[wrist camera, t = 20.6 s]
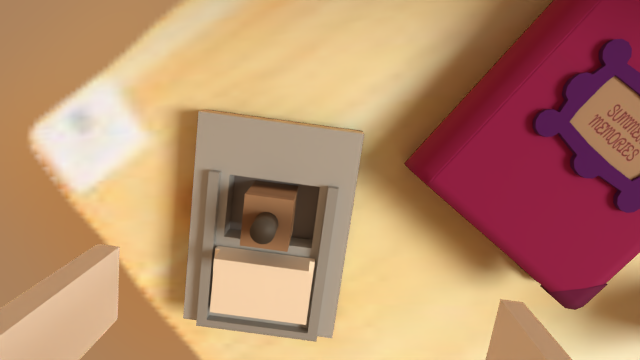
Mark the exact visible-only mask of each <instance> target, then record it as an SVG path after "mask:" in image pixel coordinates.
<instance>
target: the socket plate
mask: <svg viewBox="0 0 640 360" xmlns="http://www.w3.org/2000/svg"><path fill="white" fill-rule="evenodd" d="M363 139H364V133H363V132H362V131H358V130H351V129H344V128H336V127H329V126H322V125H315V124H307V123H300V122H293V121H286V120H278V119H271V118H264V117H256V116H249V115H242V114H235V113H227V112H220V111H213V110H203V111H199V112H198V125H197V139H196V153H195V166H194V180H193V193H192V207H191V221H190V234H189V248H188V261H187V275H186V288H185V302H184V316H183V318H184V319H192V320H197V323H196V326H203V327H211V328H218V329H226V330H233V331H241V332H248V333H256V334H263V335H271V336H278V337H286V338H293V339H301V340H308V341H316V339H317V336H319V337H327V338H332V336H333V330H334V323H335V317H336V310H337V304H338V298H339V291H340V285H341V279H342V272H343V266H344V260H345V253H346V247H347V240H348V234H349V228H350V221H351V215H352V209H353V202H354V196H355V190H356V183H357V177H358V170H359V164H360V158H361V151H362V145H363ZM256 180H258V181H266V182H273V183H280V184H288V185H295V186H298V194H297V202H296V210H295V218H294V225H293V232H292V236H291V240H290V244H289V248H288V252H284V251H277V250H269V249H262V248H255V247H247V246H240V237H241V227H242V217H243V208H244V198H245V193H246V192H247V191H248V189H249V188H250V187H251V186H252V184H253V183H254V182H255V181H256ZM217 246H223V247H230V248H238V249H245V250H253V251H260V252H267V253H275V254H282V255H290V256H297V257H305V258H312V259H315V264H314V271H313V278H312V285H311V292H310V300H309V307H308V314H307V321H306V325H303V324H295V323H288V322H280V321H273V320H265V319H258V318H250V317H243V316H235V315H228V314H220V313H213V312H210V304H211V293H212V281H213V264H214V258H215V248H216V247H217Z"/></svg>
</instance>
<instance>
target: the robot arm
mask: <svg viewBox="0 0 640 360" xmlns="http://www.w3.org/2000/svg"><path fill="white" fill-rule="evenodd" d="M118 282H119V247H116V246H109V245H101V244H96V245H95V246H94V247H92V248H90V249H89V250H87V251H86V252H84V253H83V254H81V255H80V256H79V257H77V258H75V259H74V260H72V261H71V262H69V263H68V264H66V265H65V266H63V267H62V268H60V269H59V270H57V271H56V272H54V273H53V274H51V275H50V276H48V277H47V278H45V279H44V280H42V281H41V282H39V283H38V284H36V285H35V286H33V287H32V288H30V289H28V290H27V291H25V292H24V293H22V294H21V295H19V296H18V297H16V298H15V299H13V300H12V301H10V302H9V303H7V304H6V305H4V306H3V307H1V308H0V360H79V359H80V358H81V357H82V356H83V355H84V354H85V353H86V352H87V351H88V350H89V349H90V348H91V347H92V346H93V345H94V343H95V342H96V341H97V340H98V339H99V338H100V337H101V336H102V335H103V334H104V333H105V332H106V331H107V330H108V328H109V327H110V326H111V325H112V324H113V323H114V322H115V321H116V320H117V317H118ZM486 360H572V359H571V358H570V357H569V355H568V354H567V353H566V352H565V351H564V350H563V348H562V347H561V346H560V345H559V344H558V343H557V341H556V340H555V339H554V338H553V337H552V336H551V334H550V333H549V332H548V331H547V330H546V329H545V327H544V326H543V325H542V324H541V323H540V322H539V320H538V319H537V318H536V317H535V316H534V315H533V313H532V312H531V311H530V310H529V309H528V308H527V306H526V305H525V304H524V303H523V302H517V301H509V300H502V299H501V300H500V304H499V308H498V312H497V316H496V320H495V324H494V328H493V332H492V336H491V340H490V344H489V348H488V353H487V357H486Z"/></svg>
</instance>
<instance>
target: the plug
mask: <svg viewBox="0 0 640 360" xmlns="http://www.w3.org/2000/svg"><path fill="white" fill-rule="evenodd" d="M297 194H298V186H295V185H288V184H280V183H273V182H266V181H258V180H256V181H255V182H254V183H253V184H252V186H251V187H250V188H249V189H248V191H247V192H246V193H245V198H244V208H243V217H242V227H241V237H240V246H247V247H255V248H262V249H269V250H277V251H284V252H288V248H289V244H290V240H291V236H292V232H293V225H294V218H295V210H296V202H297Z"/></svg>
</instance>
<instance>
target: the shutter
mask: <svg viewBox="0 0 640 360" xmlns="http://www.w3.org/2000/svg"><path fill="white" fill-rule="evenodd" d="M314 264H315V259H312V258H305V257H297V256H290V255H282V254H275V253H267V252H260V251H253V250H245V249H238V248H230V247H223V246H217V247H216V248H215V258H214V264H213V281H212V293H211V304H210V312H213V313H220V314H228V315H235V316H243V317H250V318H258V319H265V320H273V321H280V322H288V323H295V324H303V325H306V321H307V314H308V307H309V300H310V292H311V285H312V278H313V271H314Z"/></svg>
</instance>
